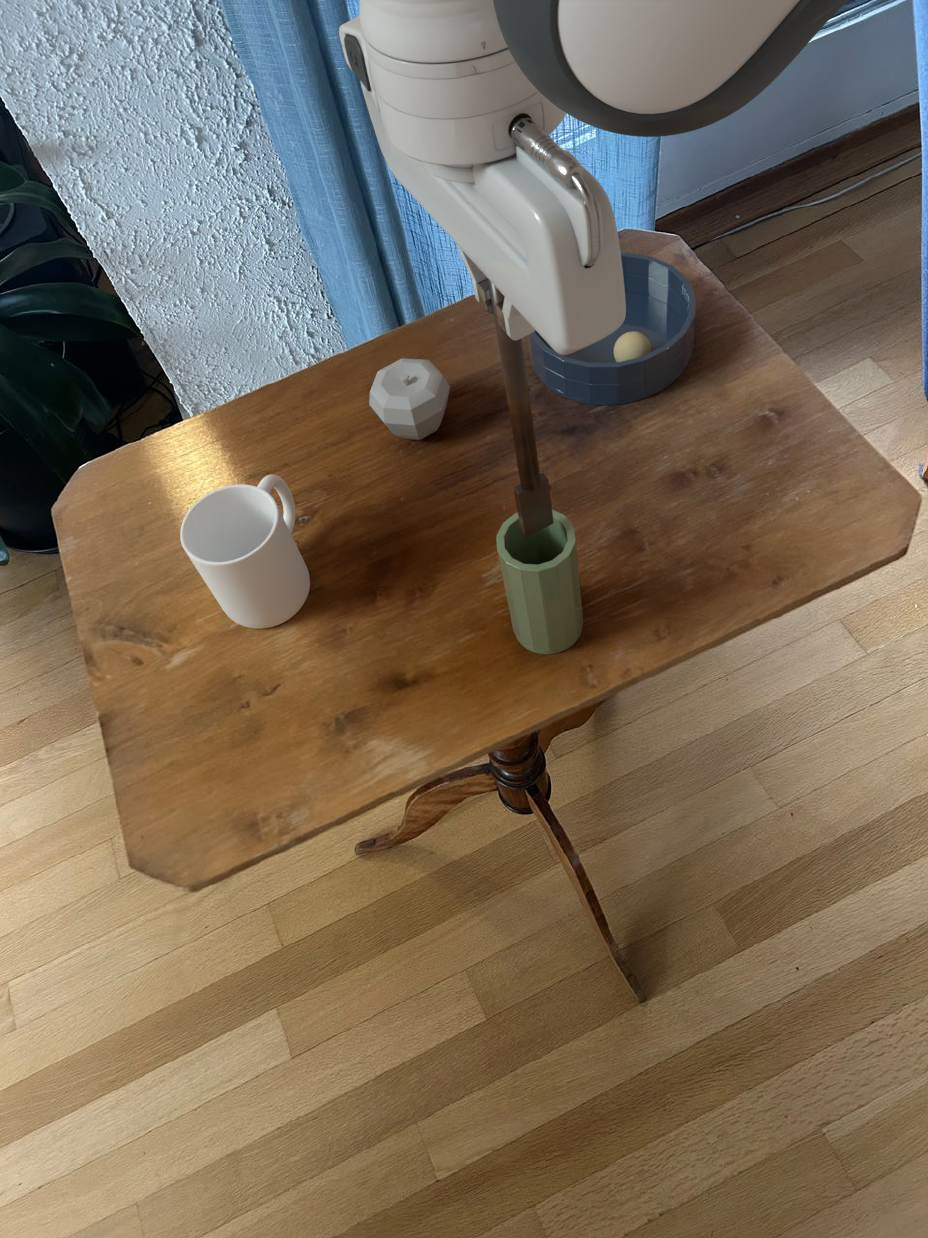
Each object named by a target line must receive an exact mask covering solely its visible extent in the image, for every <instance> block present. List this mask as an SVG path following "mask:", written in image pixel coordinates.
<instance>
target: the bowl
mask: <svg viewBox="0 0 928 1238" xmlns="http://www.w3.org/2000/svg"><path fill="white" fill-rule="evenodd" d="M620 252H621V260H622V269H623V278H624V288H625V301H626V316H625V320H624V322H623V324H622V325H621V326H620V327H619V328H618V329H617V330H616V331H614V332H613V333H612V334H610V335H608V336H607V337H605V338H603V339H602V340H600V341H598V342H596V343H594V344H592V345H590V346H588V347H585V348H583V349H581V350H578V351H576V352H574V353H571V354H568V355H560V354H558V353H557V352H556V351H554V350H553V349H552V348H551V346H550V345H549V344H548V343H547V342H546V341H545V340H544V339H543V338H542V336H541V335H540V334H539V333H538V332H537V331H536V330H535V331H534V332H533V333H531V334H529V335H527V336H526V340H527V341H526V343H527V348H528V354H529V358H530V363H531V366H532V369H533V371H534V373H535V375H536V376H537V378H538V379H539V380H540V382H541V383H542V384H543V385H544V386H545V387H547V388H548V389H549V390H550V391H552V392H553V393H555V394H557V395H559V396H561V397H562V398H565V399H567V400H570V401H573V402H577V403H580V404H586V405H591V406H618V405H626V404H631V403H634V402H638V401H641V400H644V399H647V398H650V397H652V396H654V395H656V394H658V393H660V392H662V391H663V390H665V389H666V388H667V387H669V386H670V385H672V384H673V383H674V382H675V381H676V380H677V379H678V378H679V377H681V375H682V374H683V372H685V370H686V369H687V366H688V365H689V363H690V360H691V359H692V355H693V351H694V345H695V344H694V343H695V328H696V307H697V296H696V294H695V291H694V289H693V287H692V285H691V283H690V281H689V279H688V278H687V277H686V276H685V275H684V274H682V273H681V272H680V271H679V270H678V269H677V268H676V267H674V265H672V264H669V263H668V262H665V261H662V260H661V259H658V258H657V257H654V256H651V255H645V254H639V253H634V252H629V251H628V252H627V251H623V252H622V251H620ZM633 331H634V332H639V333H642V334H643V335H645V336H646V337H647V338H648V340H649V341H650V344H651V349H652V351H651V353H649V354H647V355H645V356H643V357H638V358H634V359H630V360H626V361H621V362H616V360H615V357H614V346H615V343H616V341H617V340H618V339H619V337H620V336H622V335H623V334H625V333H627V332H633Z"/></svg>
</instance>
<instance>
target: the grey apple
mask: <svg viewBox="0 0 928 1238" xmlns="http://www.w3.org/2000/svg"><path fill="white" fill-rule="evenodd" d="M450 389H451V385H450V384H449V382H448V381H447V379H446V378H445V376H444V375H443V373H441V372H440V370H439V368H437V367H436V366H435V365H434V364H433V363H432V362H431V361H430V360H429V359H423V358H421V359H420V358H419V359H418V358H405V357H403V358H400V359H398V360H396V361H395V362H392V363H391V364H389V365H386V366H384V367H383V368H381V369H378V370H377V372H376V374H375V378H374V379H373V383H372V385H371V388H370V391H369V401H368V405H369V407H370V408H371V409H372V410H373V411H374V412H375V414H376V415H377V416H378V417H379V418H380V420H381V421H382V422H383V424H384V425H385V426H386V427H387V429H388V430H389V431H390V433H391V434H392V435H393V436H394V437H397V438H399V439H402V440H412V441H413V440H414V441H421V440H423V439H425V438H427V437H428V436H430V435H431V434H433V433H435V432H437V431H438V429H439V428H440V426H441V424H442V421H443V418H444V415H445V412H446V408H447V406H448V401H449V395H450Z"/></svg>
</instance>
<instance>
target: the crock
mask: <svg viewBox="0 0 928 1238" xmlns="http://www.w3.org/2000/svg"><path fill="white" fill-rule="evenodd" d="M552 513H553V522H554V523H553V524H551V525H550V526H548V527H546V528H544V529H542V530H540V531H538V532H536V533H534V534H532V535H531V536H529V537H527V538H526V537H525V536H524V535H523V534H522V532H521V530H520V524H519V518H518V512H515V513H514V514H512V515H511V516H510V517H508V518H507V519H506V520H505V521H503V523H502V524H501V526H500V528H499V529H498V532H497V534H496V537H495V538H496V539H495V540H496V551H497V557H498V561H499V566H500V570H501V571H500V572H501V576H502V581H503V586H504V591H505V597H506V600H507V601H506V602H507V606H508V610H509V616H510V622H511V626H512V631H513V633H514V636H515V638H516V640H517V641H518V643H519V644H520V645H521V646H522V647H523V648H525V649H526V650H528V651H529V652H532V653H535V654H537V655H538V654H539V655H555V654H559V653H562V652H564V651H567V650H568V649H570V648H571V647H572V646H573V645H574V644H576V642H577V641H578V640H579V639H580V636H581V634H582V633H583V628H584V615H583V605H582V604H583V603H582V597H581V596H582V594H581V592H582V591H581V583H580V581H581V580H580V571H579V561H578V549H577V539H576V529H575V526H574V525H573V523H572V522H571V521H570V520H569V518H568V517H567V516H566V515H565V514H563V513H561V512H559V511H557V510H555V509H552Z"/></svg>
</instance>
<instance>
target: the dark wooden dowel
mask: <svg viewBox="0 0 928 1238" xmlns="http://www.w3.org/2000/svg"><path fill="white" fill-rule="evenodd" d="M488 282H489V288H490V294H491V301H492V307H493V313H494V314H493V318H494V325H495V331H496V337H497V344H498V345H497V346H498V351H499V356H500V364H501V370H502V375H503V382H504V388H505V394H506V395H505V396H506V401H507V407H508V413H509V420H510V426H511V432H512V439H513V445H514V451H515V457H516V463H517V470H518V476H519V481H520V483H519V484H516V485H514V486H513V493H514V500H515V505H516V511H517V512H518V518H519V524H520V530H521V532H522V534H523V535H524V536H525V537H526V538H527V537H529V536H531V535H532V534H534V533H536V532H538V531H540V530H542V529H544V528H546V527H548V526H550V525H551V524H553V523H554V522H553V513H552V510H553V506H552V498H551V491H550V490H551V489H550V481H549V478H548V476H547V475H546V474H545V473H544V472H543V471H542V472H541V471H540V465H539V457H538V451H537V450H538V449H537V443H536V435H535V434H536V433H535V427H534V419H533V413H532V404H531V396H530V390H529V382H528V374H527V373H528V372H527V367H526V366H527V365H526V359H525V351H524V346H523V345H524V343H523V338H521V339H519V340H512V339H511V338H510V337H509V336H508V335H507V333H506V332H505V331H504V329H503V328H502V327H501V326H500V325H499V323H498V319H499V318H498V315H497V311H496V305H495V304H497V303H499V302H501V301H503V300H504V298H505V296H504V295H503V294H502V293H501V292H500V291H499V290H498V289H497V288H496V286H495V285H494V284H493V283H492V282H491V281H490V280H489V279H488ZM517 512H516V513H517Z"/></svg>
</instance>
